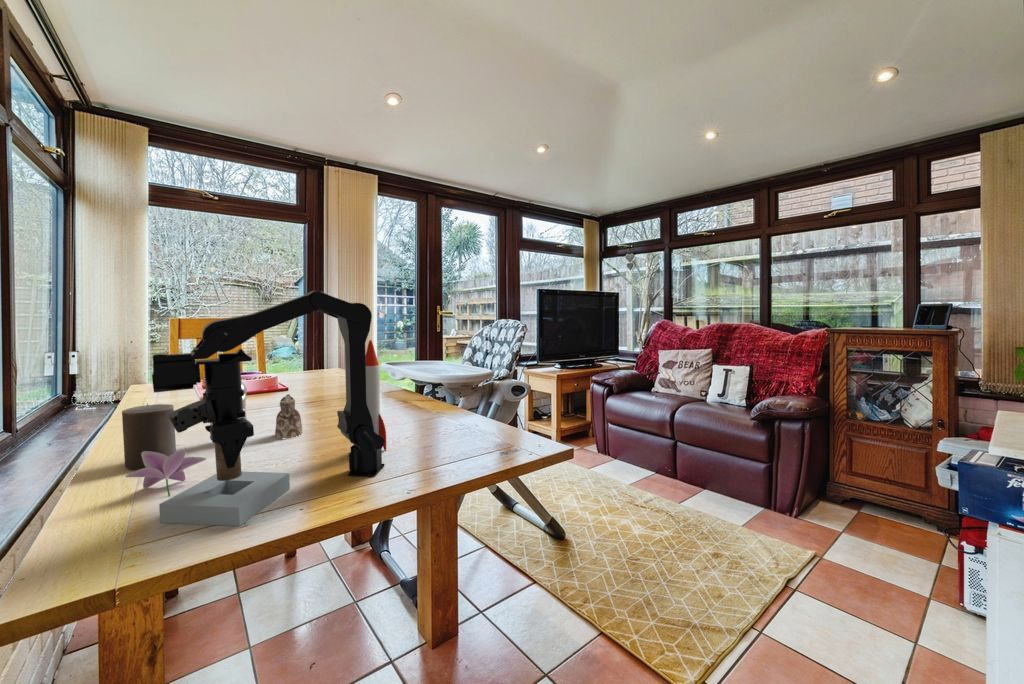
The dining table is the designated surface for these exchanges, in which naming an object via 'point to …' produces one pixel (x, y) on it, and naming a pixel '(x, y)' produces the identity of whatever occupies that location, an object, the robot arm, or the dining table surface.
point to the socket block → (225, 499)
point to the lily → (164, 467)
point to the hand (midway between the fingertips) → (228, 464)
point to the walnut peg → (222, 469)
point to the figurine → (288, 419)
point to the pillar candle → (147, 433)
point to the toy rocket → (374, 391)
